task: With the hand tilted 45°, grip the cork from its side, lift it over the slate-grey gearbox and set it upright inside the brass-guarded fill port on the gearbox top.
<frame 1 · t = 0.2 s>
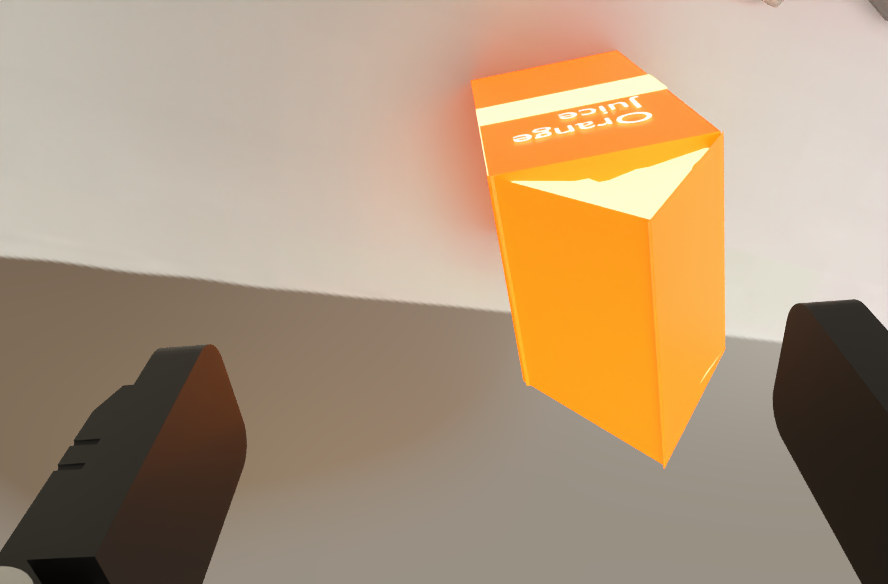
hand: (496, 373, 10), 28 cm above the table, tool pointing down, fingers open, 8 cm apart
orange juice: (553, 146, 38), on the table
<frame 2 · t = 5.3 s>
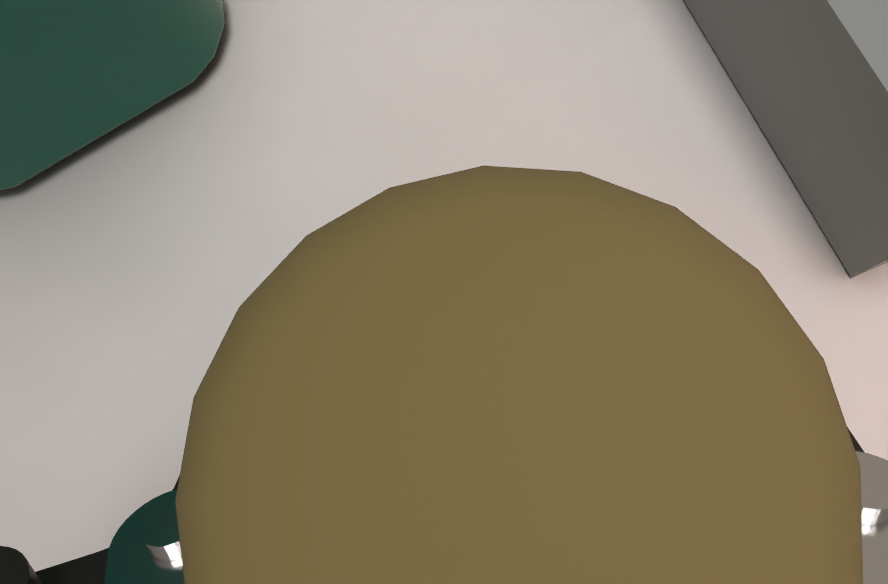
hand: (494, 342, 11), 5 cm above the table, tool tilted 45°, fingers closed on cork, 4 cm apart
pitcher: (62, 41, 18), on the table
cork: (505, 461, 15), on the table, touching gripper
when the fingers open (10 cm above the table, at t = 11.0 s): cork stays where it is, resting on gearbox.
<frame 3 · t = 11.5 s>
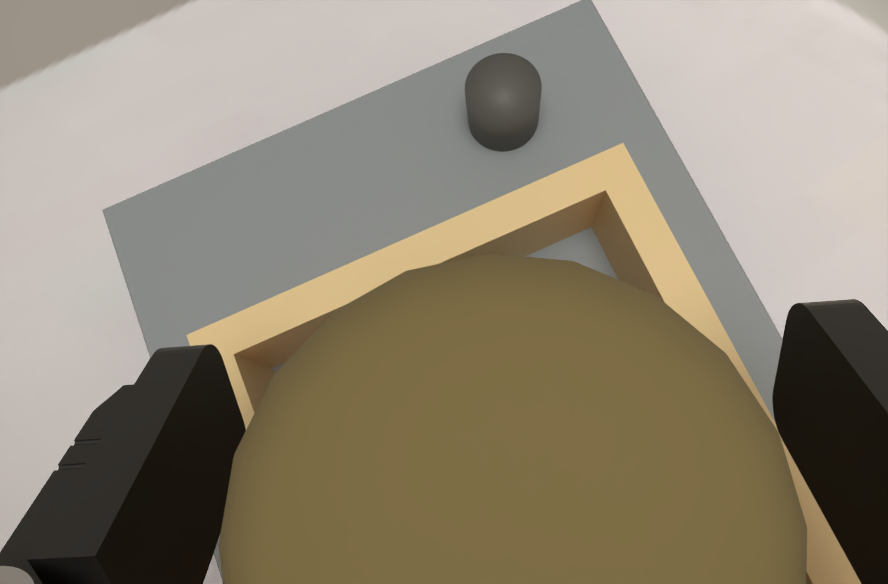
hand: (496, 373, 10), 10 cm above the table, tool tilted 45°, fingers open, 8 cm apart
gearbox: (504, 459, 20), on the table
cork: (502, 473, 16), point 4 cm above the table, touching gearbox
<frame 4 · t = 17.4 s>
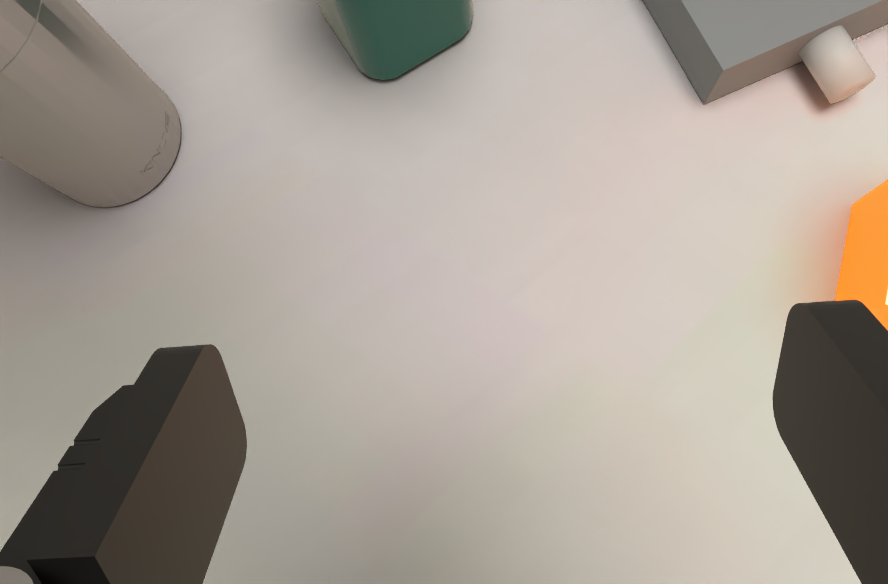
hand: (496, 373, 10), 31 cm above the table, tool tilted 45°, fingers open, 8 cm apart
pitcher: (402, 23, 46), on the table
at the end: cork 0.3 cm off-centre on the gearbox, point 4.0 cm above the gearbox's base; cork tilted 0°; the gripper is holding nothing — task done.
